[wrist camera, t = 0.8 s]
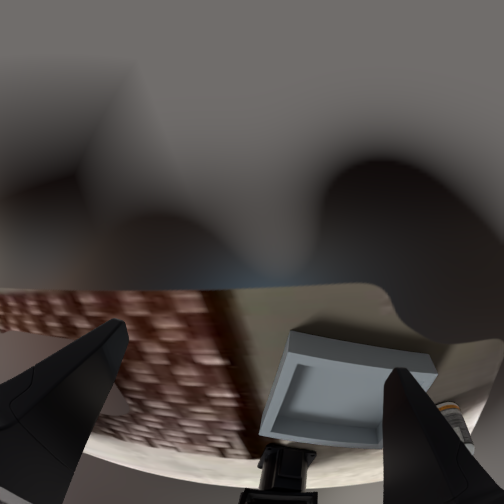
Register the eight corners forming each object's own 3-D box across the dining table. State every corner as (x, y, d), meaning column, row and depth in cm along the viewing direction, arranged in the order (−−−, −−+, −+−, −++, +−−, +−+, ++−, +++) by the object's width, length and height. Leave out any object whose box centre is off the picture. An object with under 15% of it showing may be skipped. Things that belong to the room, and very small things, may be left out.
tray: (378, 429, 28) (381, 449, 25) (262, 414, 29) (258, 434, 27) (428, 354, 24) (438, 374, 21) (290, 330, 25) (287, 351, 22)
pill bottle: (414, 411, 27) (432, 481, 17) (459, 393, 25) (485, 458, 16) (416, 435, 28) (430, 498, 19) (457, 419, 26) (477, 478, 17)
